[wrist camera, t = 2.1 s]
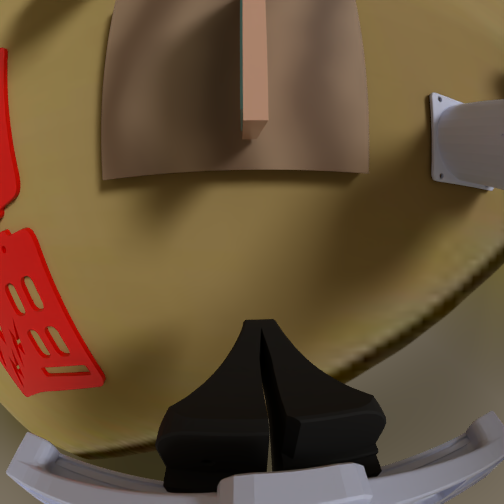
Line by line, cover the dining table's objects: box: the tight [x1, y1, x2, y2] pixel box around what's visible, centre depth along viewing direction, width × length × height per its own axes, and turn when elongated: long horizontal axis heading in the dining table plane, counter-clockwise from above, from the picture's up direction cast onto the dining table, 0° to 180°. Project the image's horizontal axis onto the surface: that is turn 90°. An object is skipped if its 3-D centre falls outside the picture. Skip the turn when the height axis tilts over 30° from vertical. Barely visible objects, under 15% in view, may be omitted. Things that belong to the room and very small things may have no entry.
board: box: [101, 0, 369, 180], centre depth 16 cm, size 19×16×2 cm
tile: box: [240, 0, 269, 139], centre depth 11 cm, size 1×12×8 cm, turn 1°
